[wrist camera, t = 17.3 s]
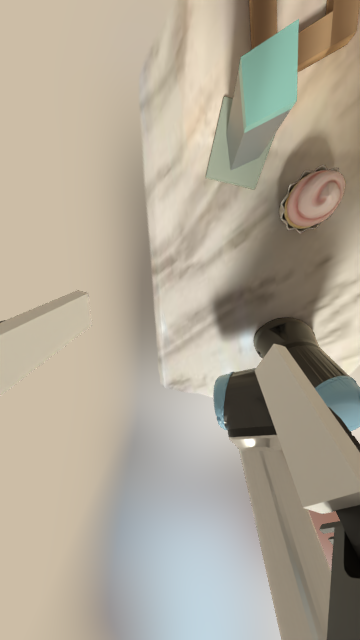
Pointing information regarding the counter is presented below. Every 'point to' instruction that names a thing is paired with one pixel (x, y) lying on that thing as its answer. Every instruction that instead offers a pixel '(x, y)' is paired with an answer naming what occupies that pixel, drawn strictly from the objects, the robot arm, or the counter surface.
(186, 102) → the counter surface
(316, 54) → the brown square frame
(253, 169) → the pad
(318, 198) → the cupcake
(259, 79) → the plug
